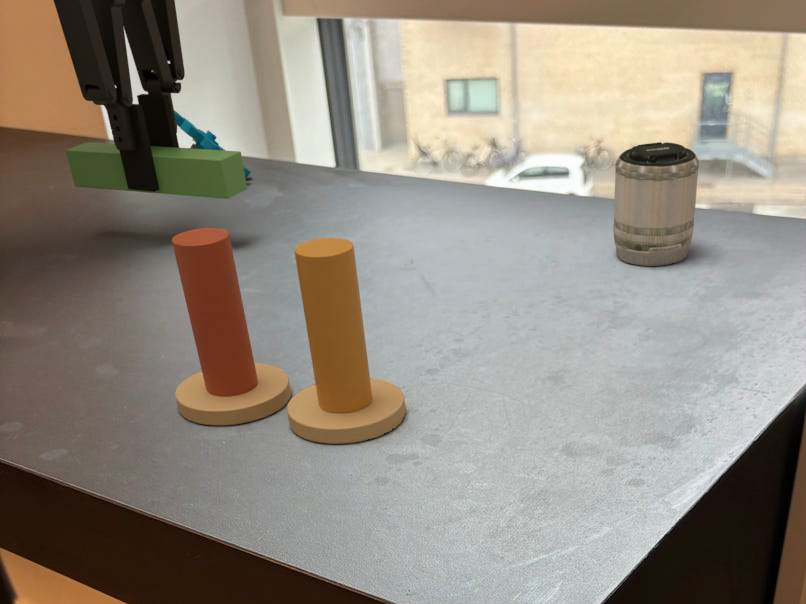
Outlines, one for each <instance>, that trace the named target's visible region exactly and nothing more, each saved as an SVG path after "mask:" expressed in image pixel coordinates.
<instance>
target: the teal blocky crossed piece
mask: <svg viewBox="0 0 806 604" xmlns="http://www.w3.org/2000/svg"><path fill="white" fill-rule="evenodd" d="M174 114H175V119H176V123H177V127H178V128H179V129H180V130H182V131H183V132H184V133H185V134H186V135H188V136H189V137H190V138H192V141H193V143H192V144H191V146H190V148H191V149H208V150H224V151H227V150H226V149H225V148H223V147H222V146H221V145H219V142H217V141H216V140H217V136H216V135H215V134H214V133H212V132H211V131H210V130H209V129H208V130H206V132H205V131H204V130H202V129H200V128H198V127H197V126H195V125H194V123H192V122H191V121H189V120H188V119H187V118H186V117H185V116H182V115H181V114H180V113H179V112H178V111H176V110H175V109H174ZM243 167H244V173H245V179H247V178H249V176H250V175H251V171H250V170H249V169H248V168H246V167H245V165H244V164H243Z"/></svg>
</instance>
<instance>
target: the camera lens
mask: <svg viewBox="0 0 806 604" xmlns="http://www.w3.org/2000/svg"><path fill="white" fill-rule="evenodd" d="M614 167H615V171H614V175H615V176H614V198H613V199H614V201H613V240H614V246H615V251H616V256H617V258H618V259H619V260H621V261H622V262H624V263H627V264H630V265H635V266H643V267H644V266H645V267H658V266H668V265H672V263H673V264H676V263H680V262H681V261H683V260H684V259H685V258H687V256H688V253H689V249H690V246H691V244H692V239H693V234H694V229H695V216H696V215H695V214H696V203H697V192H698V191H697V189H698V178H699V176H698V175H699V168H700V161H699V159H698V156H697V154H696V153H695V152H694V151H693V150H691V149H690V148H687V147H685V146H683V145H682V144H678V143H675V142H669V141H668V142H660V141H658V142H651V143H642V144H638V145H635V146H632V147H631V148H628V149H626V150H625V151H623V152H622V153H621V154H620V155H619V156H618V158H617V159H616V161H615V165H614Z"/></svg>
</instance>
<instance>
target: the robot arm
mask: <svg viewBox="0 0 806 604" xmlns="http://www.w3.org/2000/svg"><path fill="white" fill-rule="evenodd" d="M53 4H54V7H55V10H56V13H57V17H58V20H59V23H60V26H61V31H62V33H63V37H64V39H65V43H66V47H67V50H68V53H69V57H70V59H71V63H72V66H73V69H74V72H75V76H76V80H77V82H78V83H77V84H78V86H79V90H80V93H81V95H82V98H83V99H84V101H87V102H92V103H93V104H95V105H97V106H103V107H104V108H105V110H106V113H107V119H108V122H109V126H110V130H111V134H112V139H113V144H115V146H116V147H117V149H118V150H119V151H120V155H121V160H122V164H123V168H124V173H125V177H126V181H127V186H128V189H131V190H142V191H152V192H155V191H157V190H159V184H158V180H157V175H156V170H155V166H154V161H153V155H152V151H151V146H159V147H175V148H180V144H179V139H178V135H177V134H178V125H177V123H176V119H175V114H174V110H175V107H174V103H173V99H172V94H179V93H180V92H181V91H182V82H177V81H183V80H184V79H185V76H186V75H185V74H186V73H185V65H184V57H183V52H182V42H181V37H180V29H179V21H178V15H177V14H178V13H177V7H176V1H175V0H53ZM126 39H127V42H128V45H129V46H128V47H129V50H130V52H131V56H132V59H133V63H134V65H135V68H136V72H137V75H138V78H139V82H140V85H141V88H142V90H143V91H144V92H146V93H141V94H137V95H136V97H137V99H136V100H137V103H133V102H134V95H133V88H132V81H131V73H130V66H129V58H128V50H127V43H126Z"/></svg>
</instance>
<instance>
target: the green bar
mask: <svg viewBox="0 0 806 604" xmlns="http://www.w3.org/2000/svg"><path fill="white" fill-rule="evenodd" d="M224 150H225V149H224ZM224 150H208V149H191V147H179V148H175V147H159V146H151V151H152V155H153V161H154V166H155V170H156V175H157V180H158V184H159V190H157V191H155V192H152V191H142V190H131V189H128V186H127V181H126V177H125V173H124V168H123V164H122V160H121V155H120V151H119V150H118V149H117V147H116V146H115V143H110V142H109V143H108V142H107V143H106V142H91V141H88V142H84V143H81V144H79V145H76V146H73V147H70V148H68V149H65V154H66V158H67V162H68V165H69V169H70V173H71V176H72V177H71V178H72V181H73V183H74V187H76V188H87V189H97V190H98V189H99V190H100V189H101V190H113V191H122V192H123V191H124V192H137V193H139V192H140V193H149V194H160V195H161V194H162V195H176V196H187V197H198V198H214V199H225V200H226V199H227V200H229V199H230V198H232V197H234V196H237V195H238V194H240V193H243V192H245V191H247V190H248V184H247V180H246V178H245V173H244V167H243V165H244V163H243V161H244V160H243V156H242V152H241V151H239V150H226V151H224Z"/></svg>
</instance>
